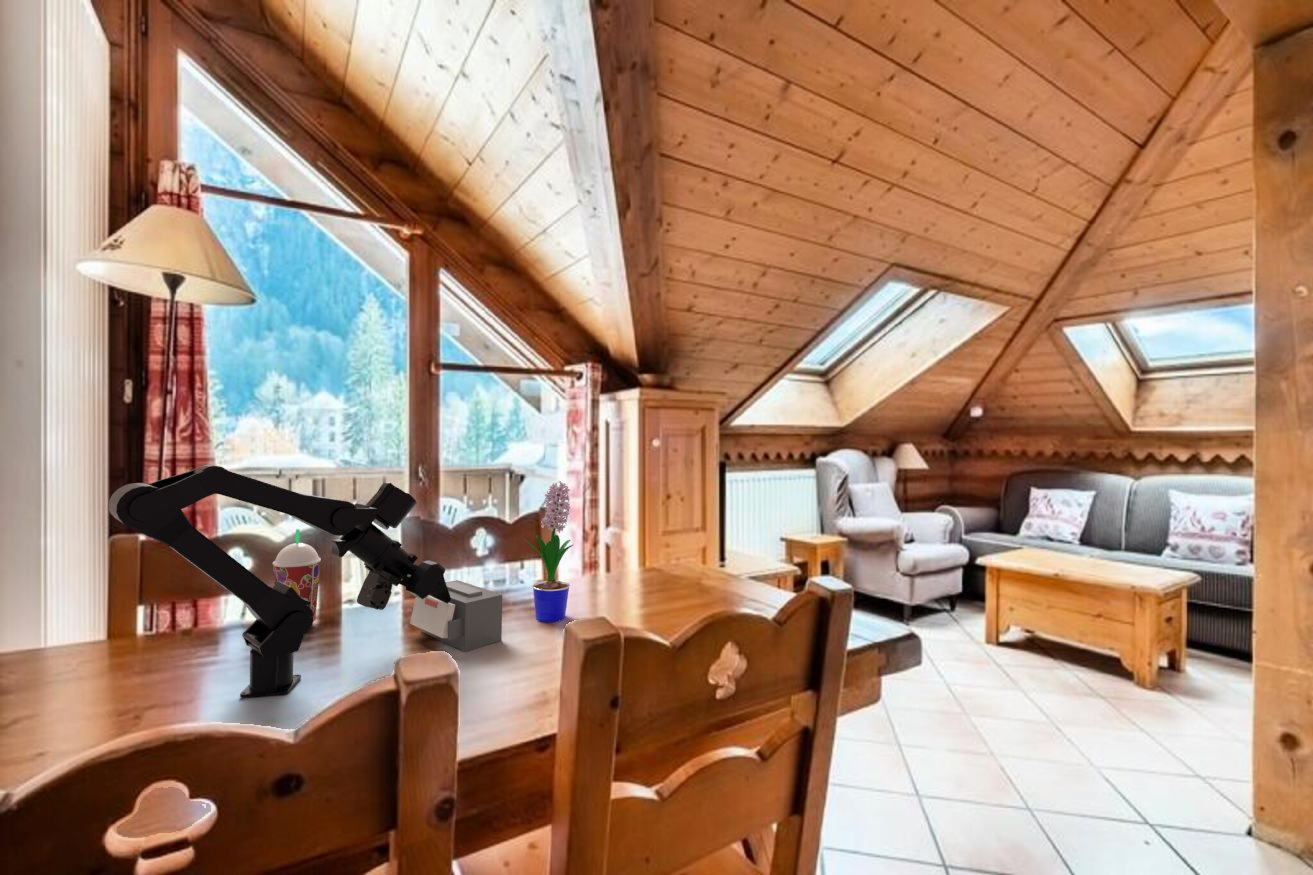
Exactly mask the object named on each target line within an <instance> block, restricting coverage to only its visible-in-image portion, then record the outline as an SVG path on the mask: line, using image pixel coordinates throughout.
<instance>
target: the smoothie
mask: <svg viewBox="0 0 1313 875" xmlns="http://www.w3.org/2000/svg"><path fill="white" fill-rule="evenodd" d="M321 560H322V559H321V557H320V556H319V554H318V552H317V551H316V549H315V548H314V547H312V546H311V545H310V544H307V543H305V542H300V529H295V542H294V543H290V544H288V545H286V546H284V547H283V548H282V549H281V550H280V551H279V552H278V553H277V556H276V557H275V560H274V561H272V566H273V582H274V584H273V586H274V585H275V584H276V583H277V581H280V582H282V583H284V584H286V585H288V586H290V587H292V588H293V589H294V590H295V591H296V592H297V594H298V595H299V596H300V597H302V598H304V599H306V600H308V601H310V602H311V604H309V605H307V606H308V607H310V609H311V610H312V611H313V613H314V616H313V623H312V626H311V628H312V627H313V625H314V622H315V621H316V620H317V619H316V618H317V606H318V595H319V583H320V581H319V580H320V570H321Z"/></svg>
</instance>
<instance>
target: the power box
mask: <svg viewBox="0 0 1313 875" xmlns="http://www.w3.org/2000/svg"><path fill="white" fill-rule="evenodd" d="M445 582H446V585H447V588H448V591H449V594H450V597H451V600H450V601H449V603H452V604H455V609H454V614H453V618H452V621H448V638H441V637H439V636H436V635H434V634H432V633H430V632H428V631H425V630H423V629H421V628H420V632H422V634H425V635H428V636H430V637H432V638H434V639H436V640H438V641H441V642H443V643H445V644H447V645H449V646H451V647H454V648H456V649H458V650H460V651H463V652H469V651H471V650H475V649H478V648H481V647H485V646H489V645H492V644H494V643H497V642H498V643H499V642H502V639H503V638H502V637H503V636H502V634H503V633H502V632H503V631H502V630H503V629H502V628H503V625H502V624H503V593H502V594H501V593H498V592H495V591H492V590H490V589H488V588H487V589H486V588H483V587H479V586H477V585H475V584H474V585H473V584H471V583H467V582H464V581H461V580H459V579H457V580H451V581H445ZM413 607H414V605H412V606H411V613H412V612H413Z"/></svg>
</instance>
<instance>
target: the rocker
mask: <svg viewBox="0 0 1313 875" xmlns="http://www.w3.org/2000/svg"><path fill="white" fill-rule="evenodd" d="M413 606H414V607H413V612H412V611H411V617H410V620H409V625H410V624H411V625H412V626H414V627H416V628H419V629H420V630H421V629H423V630H425V631H428V632H430V633H432V634H434V635H436V636H439V637H441V638H448V621H452V618H453V614H454V609H455V604H452V603H445V602H442V601H440V600H438V599H436V598H434V597H432V596H430V595H429V596H427V597H426V598H424V599H420V598H418V597H415V599H414V604H413Z"/></svg>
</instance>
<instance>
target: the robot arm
mask: <svg viewBox="0 0 1313 875" xmlns="http://www.w3.org/2000/svg"><path fill="white" fill-rule="evenodd" d="M111 494H112V493H111ZM215 494H217V495H219V496H220V495H221V496H224V497H228V498H231V499H234V500H238V501H241V502H245V503H248V504H252V505H255V506H258V507H262V508H265V509H269V510H271V511H276V512H279V513H282V514H285V515H288V516H290V517H292V518H294V519H296V520H298V521H299V522H301V523H302V524H305V525H308V526H309V527H311V528H313V529H315V530H318V531H321V532H323V533H327V534H329V535H332V536H338V537H339V538H335V539H332V540H331V541H330V543H331V551H330V552H331V553H330V554H331V555H333V556H335V557H339V558H343V557H345V555H346V554H347V553H348V551H349V552H350V553H351V554H352V555H354V556H355V557H356V558H358V559H359V560H360V561H362V562H363V565H364V568H365V569H366V570H368V574H367V575H366V577H365V579H364V581H363V583H362V585H361V587H360V590H359V593H358V595H357V598H356V602H357V604H359V605H360V606H362V607H364V608H370V609H374V610H379V611H383V610H384V609H385V608H386V606H387V604H388V603H389V600H390V598H391V596H392V588H393V586H394V587H398V586H399V585H401V586H403V587H405V591H407V593H409V594H411V595H412V596H414V597H415V598H416V597H418V598H420V599H424V598H426V597H427V596H429V595H430V596H432V597H434V598H436V599H438V600H440V601H442V602H445V603H449V601H450V600H451V597H450V594H449V591H448V588H447V585H446V582H447V581H446V578H445V573H446V568H444V566H442V565H441V564H440V563H438V562H437V561H436V562H435V561H433V560H430V559H428V560H424V561H421V562H420V563H419V565H418V564H415V562H417V559H418V558H419V557H418V556H416V554H413V553H409V552H408V551H407V550H405V549H404V548H403V547H402V545H403V544H402V543H401V542H400V541H398V540H394V539H392V538H391V537H389V535H387V534H386V533H385V532H383V531H382V529H384V530H385V531H388V530H389V529H390V527H391V528H392V529H397V528H398V527H399V526H400V524H402V522H403V521H404V520H405V518H406V517H407V516H408V515H409V514H410V512H412V510H413V509H414V508H415V507H416V505H417V502H418V501H417V500H416V499H415V498H414V496H412V495H411V494H410V493H409V492H405V491H404V490H402V489H400V488H399V487H397V486H395V485H394V484H393V483H391V482H389V481H388V482H387V481H384V482H383V483H382V484H381V485H380V486H379V488H378V490H377V491H376V493H374V495H373V496H372V497H371V499H370V500H368V502H367V503H366V504H361V503H358V502H356V503H355V504H353V503H352V502H350V501H347V500H342V499H338V498H335V497H334V498H333V497H328V496H319V495H312V494H305V493H299V492H295V491H293V490H290V489H287V488H283V487H280V486H277V485H274V484H271V483H268V482H265V481H262V480H258V479H255V478H252V477H250V476H249V477H248V476H246V475H244V474H240V473H236V472H233V471H230V470H228V469H226V468H225V467H223V466H219V465H215V464H203V465H200V466H198V467H197V468H194V469H191V470H189V471H186V472H183V473H179V474H176V475H172V476H169V477H165V478H162V479H159V480H155V481H154V482H151V483H148V484H147V483H145V482H136V483H135V482H134V483H133V482H132V483H128V484H125V485H123V486H121V487H119V488H118V489H116V490H115V491H114V492H113V494H112V495H111V496H110V499H108V500H109V501H108V510H109V513H110V514H111V516H112V517H113V518H114V519H116V520H118V521H119V522H120V523H122V524H123V525H124V526H126V527H129V528H130V529H132V530H134V531H136V532H138V533H140V534H142V535H145V536H147V537H149V538H151V539H153V540H155V541H157V542H158V543H161V544H163V545H166V546H168V547H169V548H171V549H172V550H173V551H175V552H176V553H177V554H179V556H181V557H183V558H184V559H186V560H187V561H188V562H189V563H191V564H192V565H193V566H195V567H196V568H197V569H198V570H200V571H201V572H202V573H204V574H205V575H207V576H208V577H209V578H211V579H212V580H214V581H215V582H216V583H217V584H218V585H220V586H221V587H223V588H224V589H225V590H227V591H228V592H229V593H231V594H232V595H233V596H235V597H236V598H238V600H240V601H241V602H242V603H243V604H244V605H245V607H246V608H247V610H248V612H250V615H252V616H253V617H254V618H255V620H254V622H252V623H251V624H250V625H249V627H248V628H246V630H244V631H243V633H242V634H241V635H242V638H243V641H244V642H245V645H246V646H247V647H250V648H251V649H250V651H249V684H248V685H247V686H246V687H245V688H244V689H243V690H242V691H241V692H240V693H239V697H240V698H249V697H250V698H251V697H265V696H276V695H277V696H279V695H286V694H289V693H290V691H291V690H293V688H294V687H295V685H296V684H297V683H298V682H299V680H301V678H302V674H294V653H296V652H298V651H299V649H300V647H301V644H302V642H303V639H304V637H305V635H306V634H307V633H308V632H309V631H310V629H311V628H312V627H313V625H312V623H313V624H314V621H313V616H314V613H313V611H312V610H311V609H310V607H308V606H307V605H309V604H311V602H310V601H308V600H306V599H304V598H302V597H300V596H299V595H298V594H297V592H296V591H295V590H294V589H293V588H292V587H290V586H288V585H286V584H284V583H282V582H280V581H277V583H276V584H275V585H274V584H273V587H271V585H268V584H266V583H265V582H264V581H263V580H262V579H260V578H259V577H258V576H256V574H254V573H253V572H251V571H250V569H247V568H246V567H245V566H244V565H242V564H241V563H240V562H238V560H236V559H235V558H234V557H233V556H231V555H230V554H229V553H227V552H226V551H224V550H223V549H222V548H221V547H219V545H217V544H216V543H214V542H213V541H212V540H211V539H209V537H207V536H206V535H204V534H203V533H202V532H201V531H199V530H198V529H196V527H195V526H194V525H193V524H192V523H191V521H190V519H189V518H188V517H187V516H186V514H185V513H184V511H183V510H182V509H185V508H188V507H189V506H191V505H193V504H195V503H197V502H199V501H201V500H203V499H206V498H207V497H210V496H212V495H215ZM377 526H379V527H380V528H382V529H380V528H379V527H377ZM311 626H312V627H311Z"/></svg>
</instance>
